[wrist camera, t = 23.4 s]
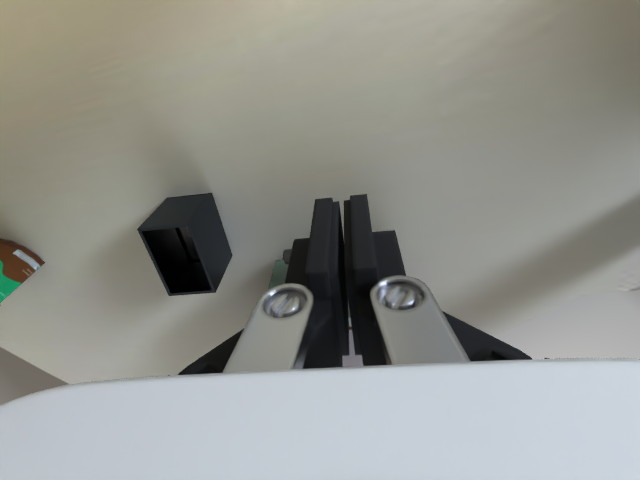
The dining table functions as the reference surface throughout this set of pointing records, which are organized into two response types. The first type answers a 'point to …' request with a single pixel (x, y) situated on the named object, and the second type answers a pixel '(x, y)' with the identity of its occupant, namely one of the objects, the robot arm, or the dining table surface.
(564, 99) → the dining table surface
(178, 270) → the dark glass display case
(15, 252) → the food container
